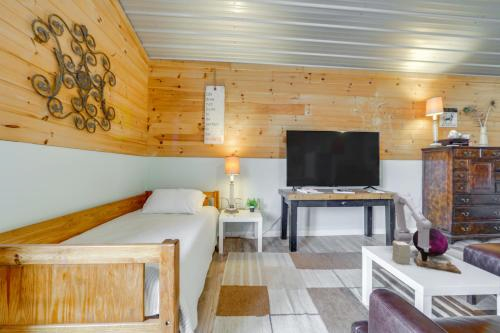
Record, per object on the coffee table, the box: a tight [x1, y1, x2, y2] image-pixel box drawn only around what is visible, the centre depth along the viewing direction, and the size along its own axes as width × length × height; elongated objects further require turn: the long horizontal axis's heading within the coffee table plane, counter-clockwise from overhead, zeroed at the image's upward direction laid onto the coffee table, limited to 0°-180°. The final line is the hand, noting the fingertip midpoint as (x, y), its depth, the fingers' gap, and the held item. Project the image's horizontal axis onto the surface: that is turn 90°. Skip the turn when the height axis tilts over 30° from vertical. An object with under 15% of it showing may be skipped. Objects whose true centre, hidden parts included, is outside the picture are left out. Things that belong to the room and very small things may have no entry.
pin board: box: [413, 257, 462, 275], centre depth 140 cm, size 21×11×4 cm, turn 64°
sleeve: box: [417, 250, 430, 264], centre depth 143 cm, size 5×5×6 cm
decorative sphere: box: [412, 227, 449, 258], centre depth 159 cm, size 20×20×20 cm
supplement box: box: [391, 240, 411, 265], centre depth 146 cm, size 7×7×13 cm
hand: (423, 259), depth 143 cm, fingers closed on sleeve, 5 cm apart
